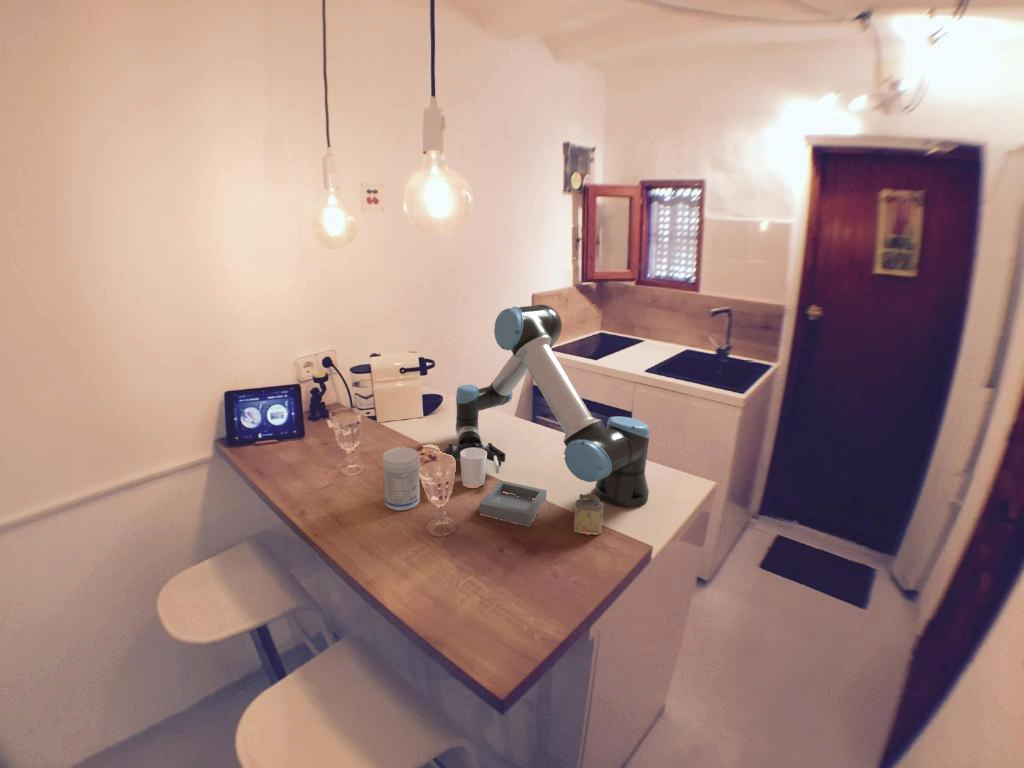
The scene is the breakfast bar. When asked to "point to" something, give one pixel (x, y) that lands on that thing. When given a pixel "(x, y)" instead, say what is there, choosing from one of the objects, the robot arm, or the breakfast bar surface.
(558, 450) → the breakfast bar surface
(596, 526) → the lighter
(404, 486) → the supplement tub
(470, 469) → the white cup
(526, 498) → the slate coaster tray
